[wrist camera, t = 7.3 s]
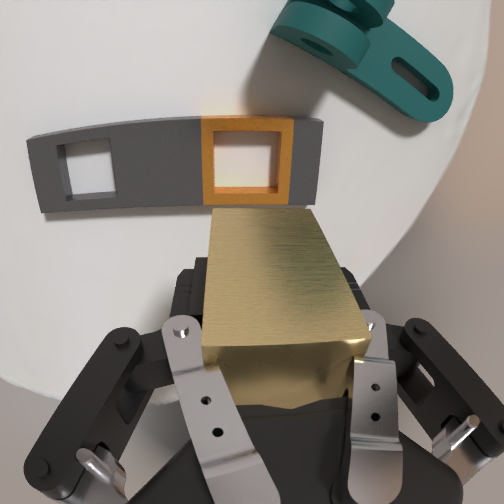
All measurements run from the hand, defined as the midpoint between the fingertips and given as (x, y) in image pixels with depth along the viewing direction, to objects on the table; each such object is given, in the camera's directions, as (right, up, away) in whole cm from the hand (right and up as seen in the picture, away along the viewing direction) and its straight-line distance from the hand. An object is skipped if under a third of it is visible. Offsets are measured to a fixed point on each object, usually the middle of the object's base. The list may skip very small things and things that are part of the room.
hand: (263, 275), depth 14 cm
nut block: (0, +1, +2) cm, 2 cm away
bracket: (+10, +19, +10) cm, 24 cm away
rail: (-9, +9, +14) cm, 19 cm away
